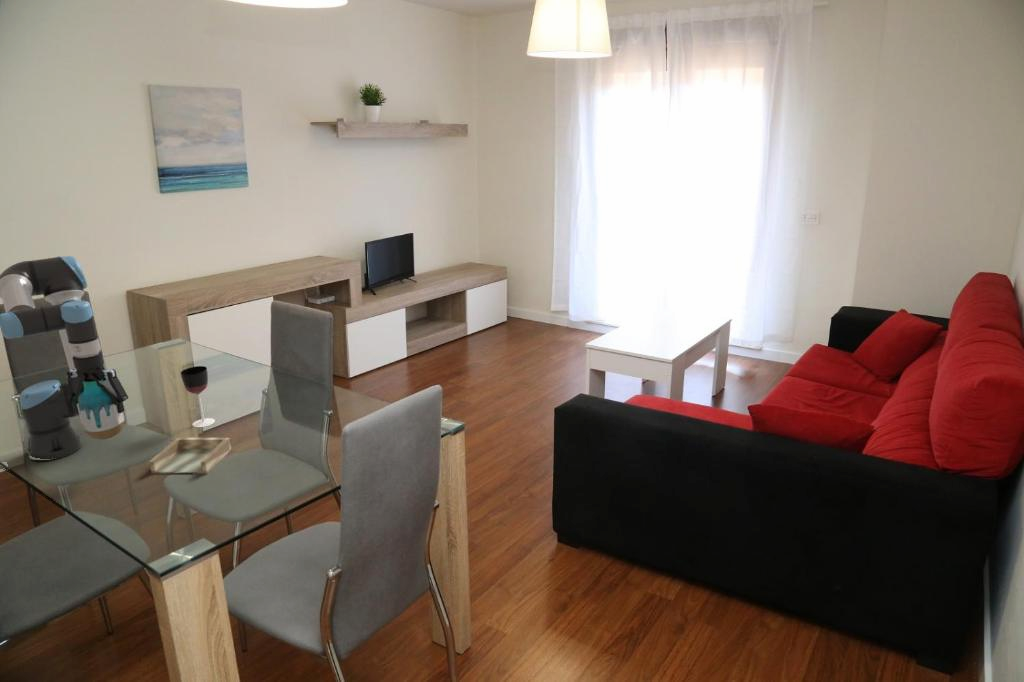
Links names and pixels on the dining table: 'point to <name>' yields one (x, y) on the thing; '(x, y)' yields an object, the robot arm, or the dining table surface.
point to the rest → (191, 455)
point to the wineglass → (197, 388)
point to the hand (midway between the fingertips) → (103, 422)
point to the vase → (97, 412)
